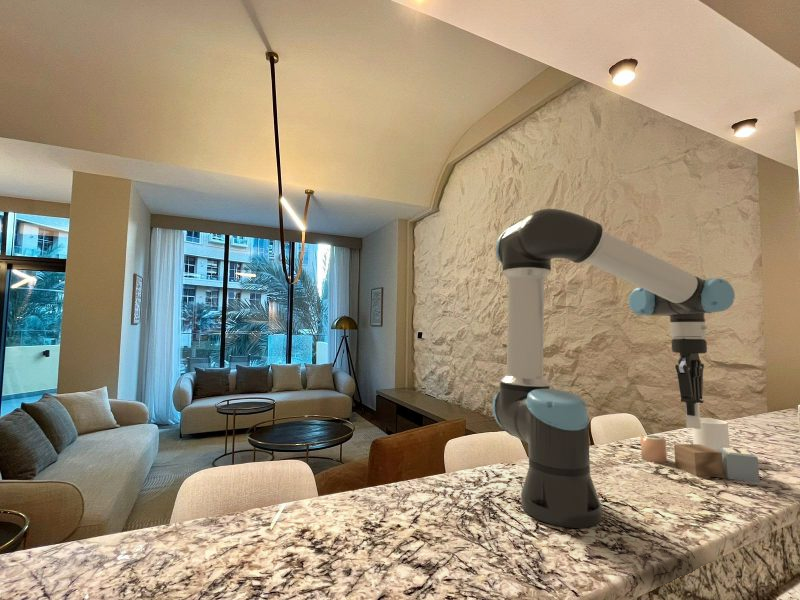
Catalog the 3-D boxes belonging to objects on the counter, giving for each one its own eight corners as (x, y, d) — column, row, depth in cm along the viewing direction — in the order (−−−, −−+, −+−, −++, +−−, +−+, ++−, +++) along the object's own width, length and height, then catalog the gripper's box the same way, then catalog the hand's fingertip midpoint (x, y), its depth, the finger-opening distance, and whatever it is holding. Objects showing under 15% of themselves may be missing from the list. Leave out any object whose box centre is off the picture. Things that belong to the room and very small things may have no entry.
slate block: (728, 478, 94) (726, 451, 94) (719, 470, 99) (717, 445, 100) (759, 482, 91) (757, 455, 92) (749, 474, 96) (747, 448, 97)
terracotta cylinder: (647, 462, 105) (646, 438, 106) (637, 455, 111) (636, 433, 111) (671, 464, 104) (669, 439, 104) (660, 457, 110) (659, 434, 110)
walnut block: (696, 477, 95) (694, 452, 95) (675, 467, 102) (674, 444, 102) (723, 476, 95) (721, 452, 95) (701, 467, 102) (699, 444, 102)
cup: (688, 453, 113) (686, 419, 114) (708, 448, 118) (706, 415, 119) (722, 462, 105) (719, 425, 106) (742, 455, 111) (739, 420, 112)
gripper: (696, 338, 95) (702, 434, 93) (714, 338, 102) (719, 427, 100) (662, 337, 101) (666, 428, 99) (681, 338, 108) (686, 421, 106)
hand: (693, 427), depth 100 cm, fingers closed
